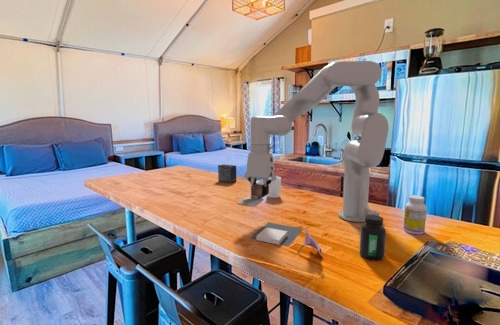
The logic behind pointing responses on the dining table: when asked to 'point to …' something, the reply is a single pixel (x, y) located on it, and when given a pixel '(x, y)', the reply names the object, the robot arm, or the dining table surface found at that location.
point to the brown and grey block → (254, 195)
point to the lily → (310, 241)
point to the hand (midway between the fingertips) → (259, 194)
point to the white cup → (274, 188)
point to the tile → (272, 236)
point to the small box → (227, 173)
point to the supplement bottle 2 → (415, 215)
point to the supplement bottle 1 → (373, 238)
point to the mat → (291, 231)
